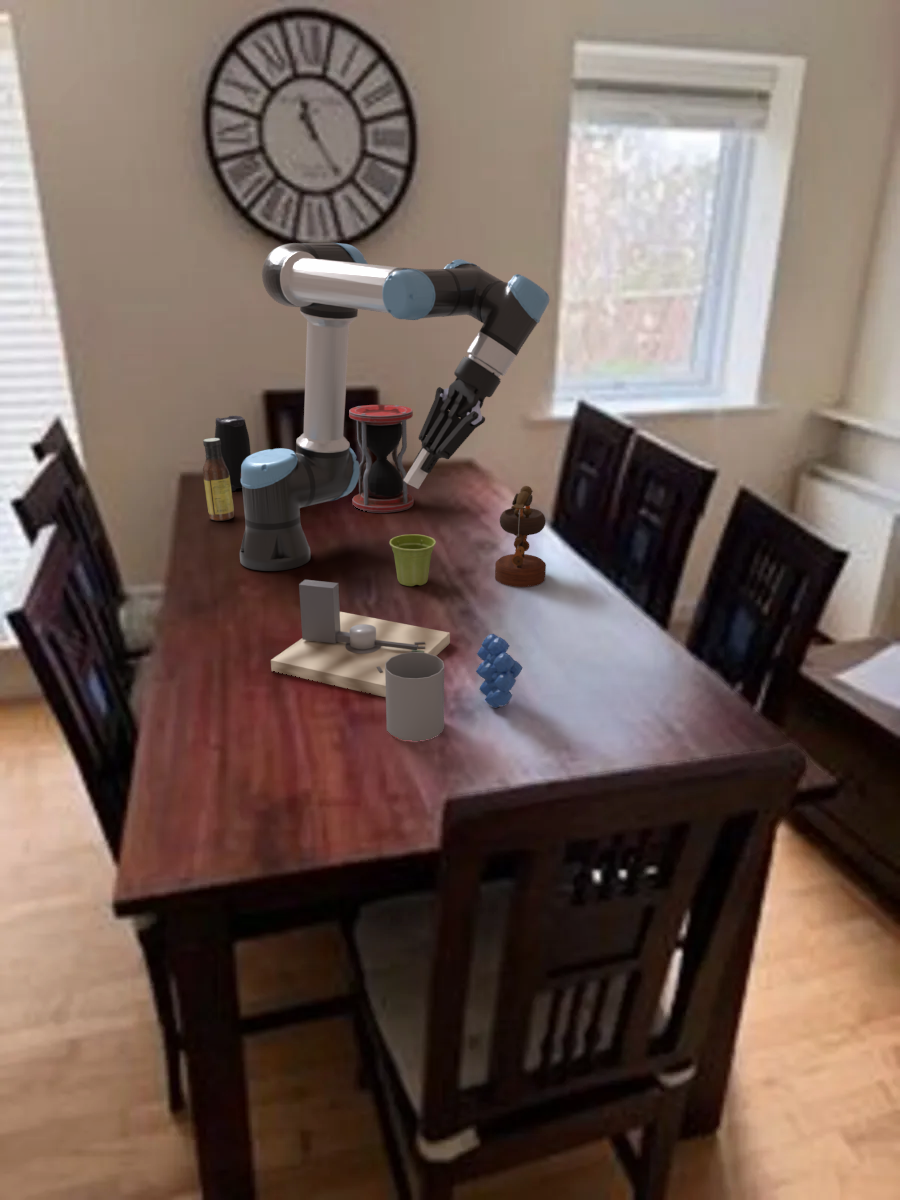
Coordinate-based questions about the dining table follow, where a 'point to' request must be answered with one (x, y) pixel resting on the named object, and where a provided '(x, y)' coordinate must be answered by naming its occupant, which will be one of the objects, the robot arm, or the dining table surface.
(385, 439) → the hourglass
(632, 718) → the dining table surface
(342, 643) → the dial plate
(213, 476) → the sauce bottle
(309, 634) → the lever dial gauge
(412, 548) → the plant pot
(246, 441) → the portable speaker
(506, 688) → the grapes
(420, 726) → the cup
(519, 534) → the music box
